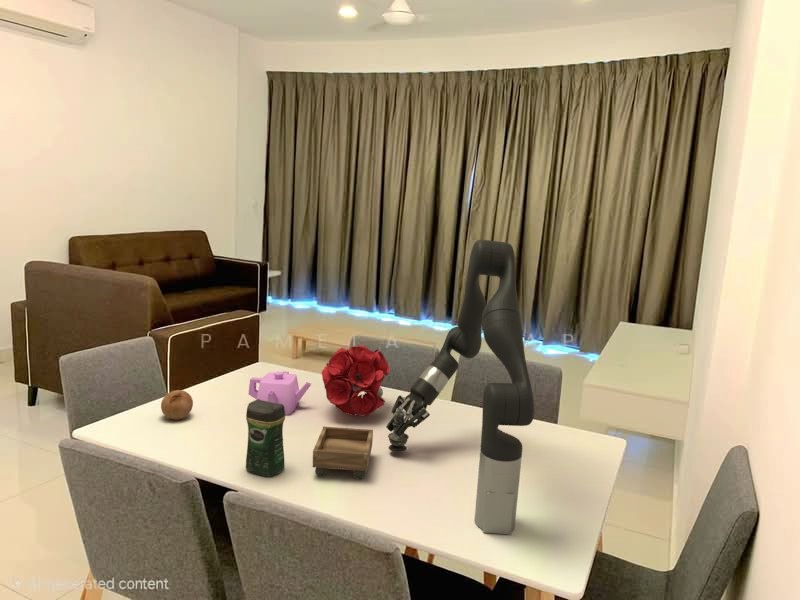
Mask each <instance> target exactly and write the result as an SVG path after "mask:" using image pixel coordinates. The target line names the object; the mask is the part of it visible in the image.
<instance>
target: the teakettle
mask: <svg viewBox="0 0 800 600" xmlns="http://www.w3.org/2000/svg"><path fill="white" fill-rule="evenodd" d="M257 384H259V385H258V388H257ZM248 386H249V387H248V395H249V396H250V397H252V398H254V400H257V399H260V400H262V401H267V402H273V403H277V404H283V405H284V410H285V416H290V415H292V413H293V412H295V410H296V409H297V407H298V404H299V402H300V401H301V399H302V397H303V396H304V395H305V394H306V393H307V391H308V390H309V388H310V387H311V386H312V383H311V382H305V384H304V385H303V386H301V387H300V388H299V382H298V376H297V374H296V373H290V371H284V370H283V371H275V372H268V373H267V374H264V376H263V377H253V376H252V377H251V378H250V379H249V385H248Z"/></svg>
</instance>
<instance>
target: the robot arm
mask: <svg viewBox="0 0 800 600" xmlns="http://www.w3.org/2000/svg"><path fill="white" fill-rule="evenodd" d="M514 251H515V250H514V247H513V246H512V244H511V243H508V242H504V241H497V240H488V239H478V240H476V241H475V242H474V243H473V246H472V248H471V251H470V255H469V261H468V267H467V274H466V280H465V287H464V295H463V301H462V305H461V308H460V312H459V315H458V318H457V326H454V327H452V328H451V329H449V331H448V332H447V335H446V337H445V340H444V342H443V345H442V347H441V349H440V351H439V352H438V354H437V356H436V357H435V359H433V361H432V362H431V363H430V365H429V366H428V367H427V368H425V370H424V371H423V372H422V374H420V376H419V377H418V378H417V380H416V381H415V382H414V383H413V385H412V386H411V387H410V393H409V394H407V395H406V396H404V397H403V396H402V395H398V396H397V398H396V400H395V402H394V404H393V407H392V409H391V414H392V415H393V416H392V417H391V419H390V420H389V422H388V423H387V424H386V429H387V430H388V431H390V432H393V429H394V425H393V422H394V414H395V412H396V411H399V410H398V409H399V408H400V409H401V410H400V411H402V412H404V420H403V422H401V424H400V425H399V426H398V428H397V429H396V430H395V431H394V433H395V434H396V435H397V436H398V437H400V436H401V435H402V434H403V433H405V432H406V431H407V429H408V428H410V427H412V428H413V429H414V428H416V427H417V426H418V425H420V424H421V423H422V422H424V421H425V420H426V419H427V418H429V417H430V413H429V411H428V410H427V408H428V406H431V405H432V404H433V403H434V402H435V400H436V399H437V398H438V397H439V396H440V394H441V393H442V391H443V390H444V389H445V388H446V385H447V384H448V382H449V381H450V379H451V378H452V377H453V376H454V374H455V373H456V372H457V370H458V369H459V366H460V365H459V362H458V361H457V360H456V358H455V357H454V356H453V355H452V354H451V352H452V351H454V352H456V353H458V354H459V355H460V356H462V357H464V358H465V359H469V360H470V359H473V358H475V357H476V356H477V355H478V354H479V353H480V351H481V347H482V338H483V339H484V342H485V343H486V344H487V346H488V348H489V349H490V350H491V352H492V353H493V354H494V355H495V357H497V359H498V360H499V361H500V362H501V363H502V365H503V366H504V367H505V369H506V371H507V372H508V375H509V377H510V381H511V383H509V382H489V383H487V384H486V385H485V388H484V391H483V396H482V421H481V423H482V424H481V436H480V450H479V451H480V453H479V463H478V464H479V465H478V473H477V483H476V485H477V486H476V498H475V511H474V523H475V525H476V527H478V528H480V529H481V530H482V532H483V533H485V534H497V535H499V534H500V535H511V534H512V531H513V530H514V529H515V527H516V517H517V509H518V508H517V507H518V500H519V499H518V497H519V488H520V487H519V486H520V479H521V478H520V477H521V476H520V475H521V469H522V468H521V467H522V457H523V443H522V441H521V440H520V439H519V438H517V437H516V436H514V435H513V434H509V433H508V432H505V431H503V430H501V429H499V426H508V427H509V426H510V427H511V426H512V427H524V426H529V425H530V424H532V422H533V421H534V417H535V402H534V400H535V399H534V393H533V389H532V384H531V379H530V375H529V374H530V373H529V369H528V366H527V361H526V354H525V346H524V336H523V327H522V319H521V313H520V308H519V307H520V306H519V302H518V292H517V281H516V278H517V276H516V258H515V252H514ZM480 275H481V276H489V277H498V278H499V280H500V281H499V282H500V283H499V286H498V288H497V290H496V291H495V293H494V294H493V295H492V297H491V298H490V299H489V300H488V302H487V300H486V297H485V295H484V294H483V292H482V289H481V287H480V286H481V285H480ZM482 331H483V337H482Z"/></svg>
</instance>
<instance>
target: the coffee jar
mask: <svg viewBox="0 0 800 600" xmlns="http://www.w3.org/2000/svg"><path fill="white" fill-rule="evenodd" d="M285 419H286V415H285V410H284V405H283V404H277V403H273V402H267V401H262V400H260V399H254V400H253V401H251V402H249V403H248V404H247V409H246V416H245V420H246V423H247V434H248V435H247V449H246V457H245V458H246V459H245V469H246V471H248V472H250V473H252V474H256V475H259V476H265V477H271V476H275V475H278V474H279V473H281V472H282V471H283V469H285V451H284V438H283V437H284V435H283V434H284V433H283V427H284V422H285Z"/></svg>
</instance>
